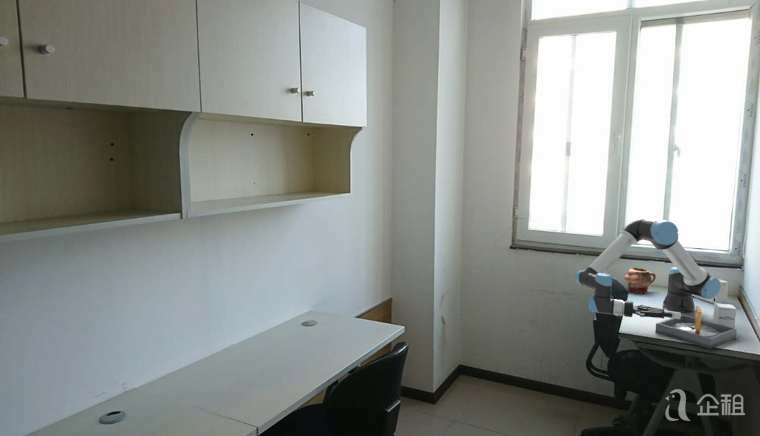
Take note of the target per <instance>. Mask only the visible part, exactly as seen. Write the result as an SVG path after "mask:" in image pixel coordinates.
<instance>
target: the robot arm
mask: <svg viewBox="0 0 760 436" xmlns="http://www.w3.org/2000/svg"><path fill="white" fill-rule="evenodd" d="M678 232H679V229H678V227H677V225H676V224H675V223H674V222H672V221H669V220H667V219H660V218H659V219H658V218H655V217H654V218H653V217H648V216H644V217H642V216H641V217H639V218H636V219H634V220H632V221H631V222H629V223H628V224H627V225H626V226H624V228H622V229H621V231H620V232H619V233H620V234H619V235H618V236H617V237H616V238H615V239H614V240H613V241H612V242H611V243H610V244H609V245H608V247H606V249H604V251H602V253H600V254H599V256H598V257H596V259H594V260H593V262H592V263H590V265H589V266H588V267H587V268H586V269H580V270H578V271H576V273H575V276H574V280H575V282H576V283H577V284H579V286H582V287H586V288H588V289H591V290H593V291H594V292H593V293H594V294H593V296H590V297H589V304H588V310H589V311H590V312H593V313H598V314H604V315H614V316H615V317H618V316H620V317H622V316H624V317H627V318H632V317H633V314H634V315H636V316H639V317H640V318H656V319H657V318H658V319H662V320H664V319H665V318H668V319H671V318H676V319H680V316H681V315H682V313H694V312H695V310H696V306H695V302H694V298H693V296H692V294H693V295H696V296H700V297H702V298H706V299H712V298H714V297H715V296H716V295H717V294H718V293H719V291H720V287H721V283H720V280H721V279H720V280H719V278H717V277H716V276H712V275H711V274H709V272H708V271H707V270H706V269H705V268H704V267H700V266H699V265H698V264H697V262H696V261H695V260H694V259H693V258H692V256H691V255H690V254H689V253H688V251H687V250H686V249H685V247H683V245H682V243H680V241H679V233H678ZM641 241H646V242H647V241H648V242H650V243H651V244H652V245H653V246H654V248H655V249H656V250H658V251H661V252H663V253H664V255H665V256H666V257H667V259H668V260H670V262H671V263H672V265H674V266H672V267H670V268H669V272H668V279H667V280H668V281H667V294H666V295H665V298H664V300H663V302H662V307H663V308H660V307H659V308H658V307H655V306H654V307H653V306H648V305H644V304H640V305H639V304H638V305H634V301H632V300H631V301H629V300H625V301H624V299H614V298H612V290H613V289H612V287H613V276H612V275H611V274H609V273H606V272H607V271H608V270H609V269H610V268H611V267H612V266H613V265H614V264H615V263H616V261H618V260H619V258H620V257H622V256H623V254H624V253H626V252H627V251H628V249H630V248H631V246H632V245H636V244H637V243H638V242H641Z"/></svg>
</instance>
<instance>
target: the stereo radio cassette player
mask: <svg viewBox="0 0 760 436" xmlns="http://www.w3.org/2000/svg"><path fill="white" fill-rule="evenodd" d="M718 279H719V278H718ZM719 280H720V283H721V287H720V291H719V293H718V294H717V295H716V296H715V297H714V298H712V299H706V298H702V297H700V296H696V295H693V294H692V297H693V296H694V298H697V299H699V300H703V301H706V302H709V303H711V304H714V305H715V303H720V304H727V302H728V301H727V300H728V295H729V293H728V292H729V282H728V281H726V280H723V279H719Z"/></svg>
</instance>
